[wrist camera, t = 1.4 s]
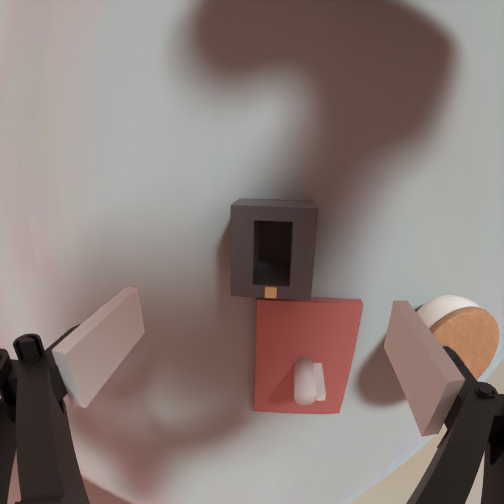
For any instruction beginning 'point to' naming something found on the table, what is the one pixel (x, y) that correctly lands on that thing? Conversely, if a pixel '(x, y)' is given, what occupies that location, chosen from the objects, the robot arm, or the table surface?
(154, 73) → the table surface
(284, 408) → the plate
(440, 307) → the lidded jar
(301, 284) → the hollow frame block
